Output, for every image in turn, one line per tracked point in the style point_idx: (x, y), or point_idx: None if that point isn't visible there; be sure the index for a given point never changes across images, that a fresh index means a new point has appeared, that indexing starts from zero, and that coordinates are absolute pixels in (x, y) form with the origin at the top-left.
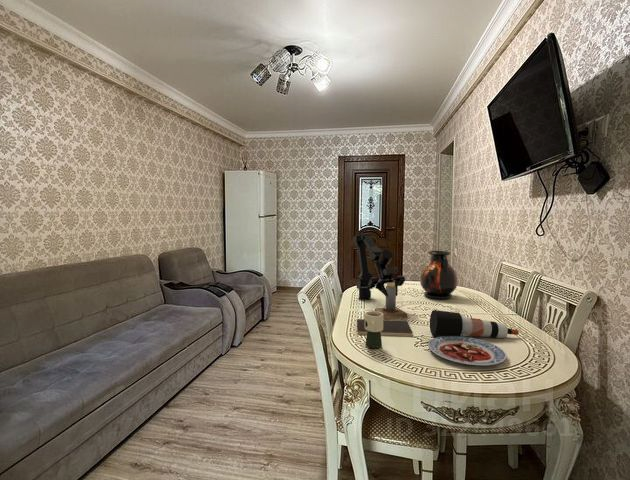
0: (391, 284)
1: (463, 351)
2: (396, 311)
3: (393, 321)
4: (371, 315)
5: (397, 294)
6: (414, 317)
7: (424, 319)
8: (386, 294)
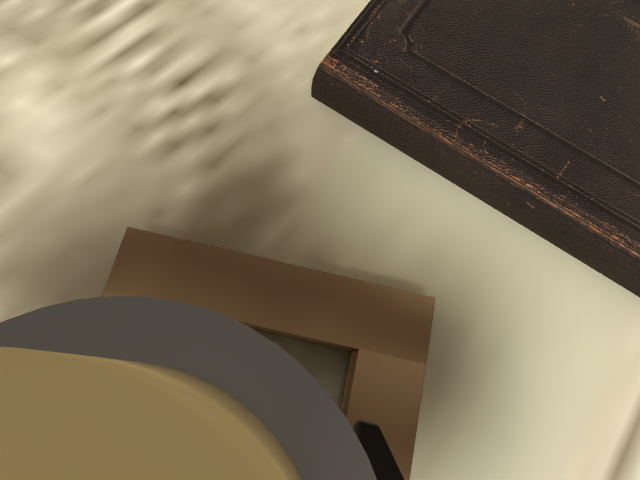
0: (199, 402)
1: None
2: None
3: (461, 107)
4: None
5: None
6: (73, 203)
7: (41, 107)
8: (390, 450)
